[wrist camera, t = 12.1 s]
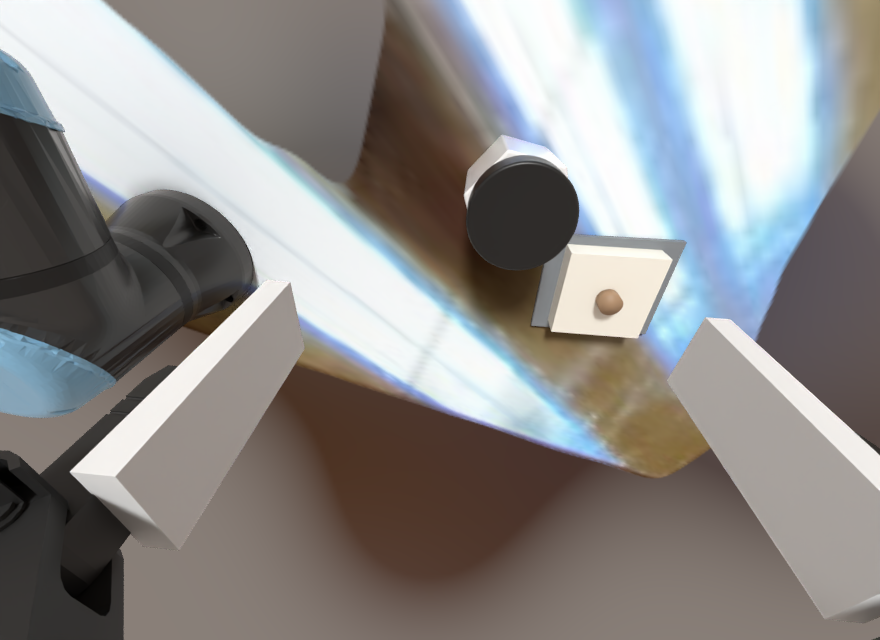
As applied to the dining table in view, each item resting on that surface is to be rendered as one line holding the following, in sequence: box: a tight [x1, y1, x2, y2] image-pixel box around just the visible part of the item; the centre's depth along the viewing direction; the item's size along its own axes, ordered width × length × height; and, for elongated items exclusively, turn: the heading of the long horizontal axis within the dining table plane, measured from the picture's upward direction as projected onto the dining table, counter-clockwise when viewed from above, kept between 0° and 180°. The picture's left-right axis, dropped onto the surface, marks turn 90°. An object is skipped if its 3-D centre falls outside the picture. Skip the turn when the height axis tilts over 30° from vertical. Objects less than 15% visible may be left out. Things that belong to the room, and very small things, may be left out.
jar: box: [464, 135, 579, 270], centre depth 30 cm, size 9×8×12 cm
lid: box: [548, 244, 673, 338], centre depth 38 cm, size 10×10×4 cm
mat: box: [531, 234, 687, 334], centre depth 40 cm, size 14×12×1 cm
